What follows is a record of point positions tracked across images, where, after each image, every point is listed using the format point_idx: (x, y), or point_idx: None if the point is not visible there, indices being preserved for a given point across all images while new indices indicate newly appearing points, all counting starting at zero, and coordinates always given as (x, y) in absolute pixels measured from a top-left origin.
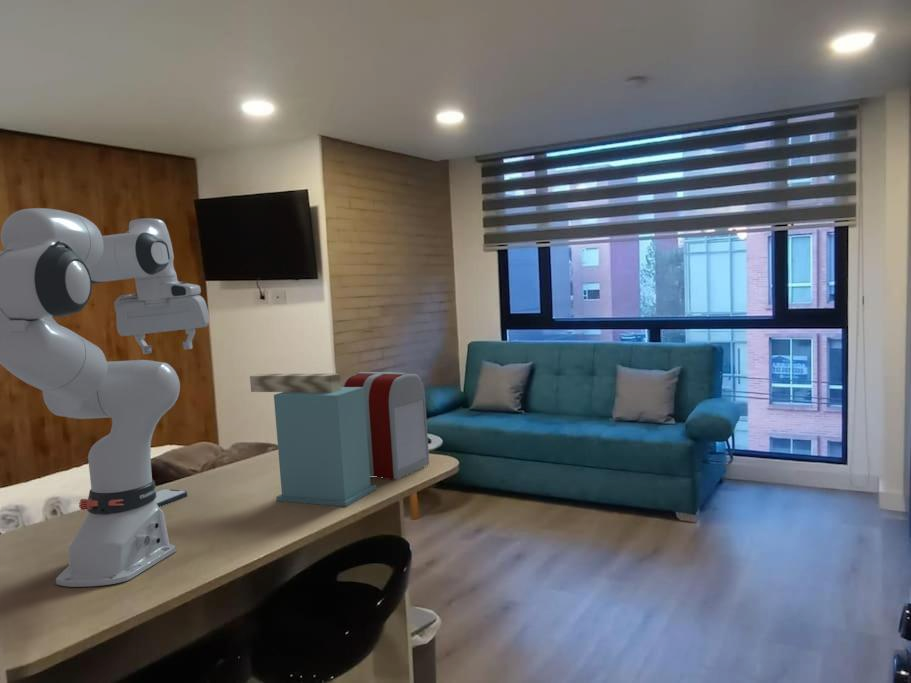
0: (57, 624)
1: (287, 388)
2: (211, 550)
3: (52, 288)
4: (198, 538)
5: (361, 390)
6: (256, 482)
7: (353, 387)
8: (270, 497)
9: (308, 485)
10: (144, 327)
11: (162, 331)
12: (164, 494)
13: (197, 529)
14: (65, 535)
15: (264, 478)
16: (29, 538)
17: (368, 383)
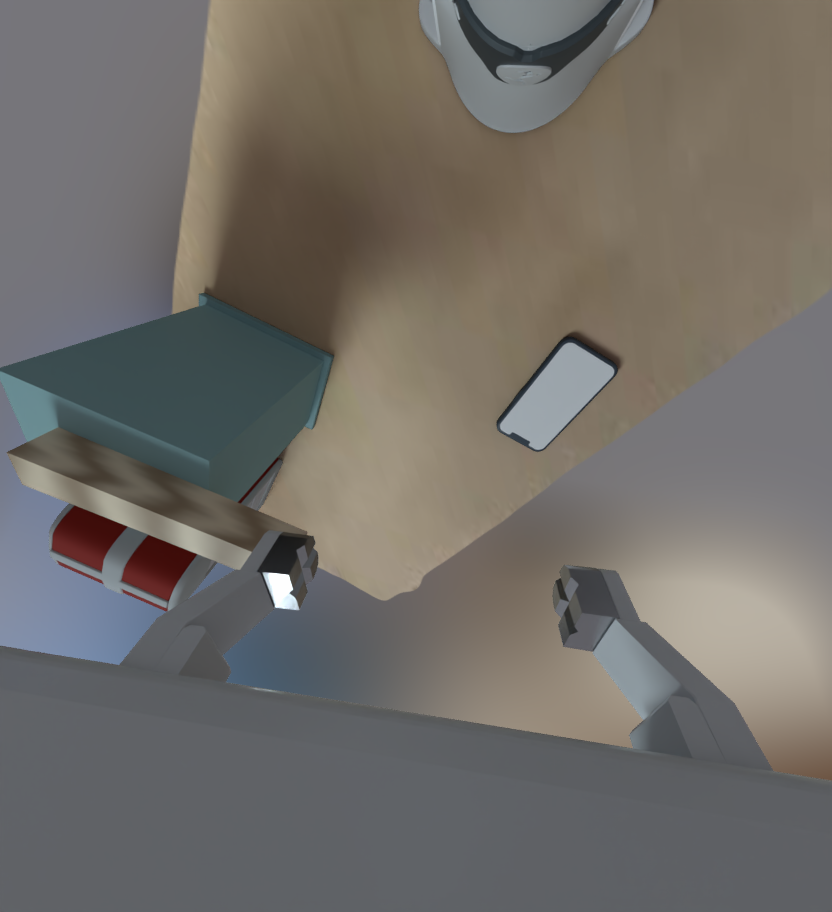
0: None
1: (189, 491)
2: (341, 22)
3: None
4: (400, 135)
5: None
6: (401, 460)
7: None
8: (351, 378)
9: (260, 342)
10: (666, 869)
11: (406, 712)
12: (534, 422)
13: (421, 207)
14: (709, 224)
15: (395, 475)
16: (799, 217)
17: (120, 546)
